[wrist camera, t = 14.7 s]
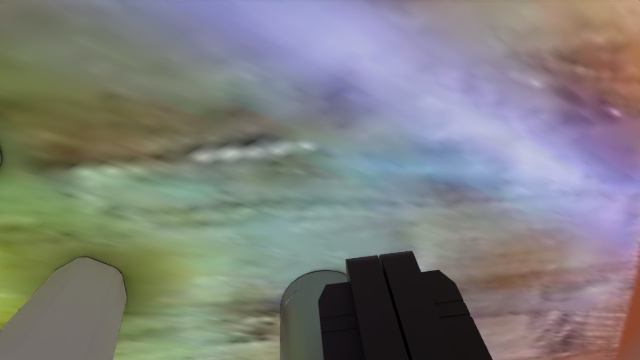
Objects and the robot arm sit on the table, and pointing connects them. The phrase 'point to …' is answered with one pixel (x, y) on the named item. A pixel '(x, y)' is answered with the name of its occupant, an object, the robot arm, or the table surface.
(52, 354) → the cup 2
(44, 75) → the table surface
